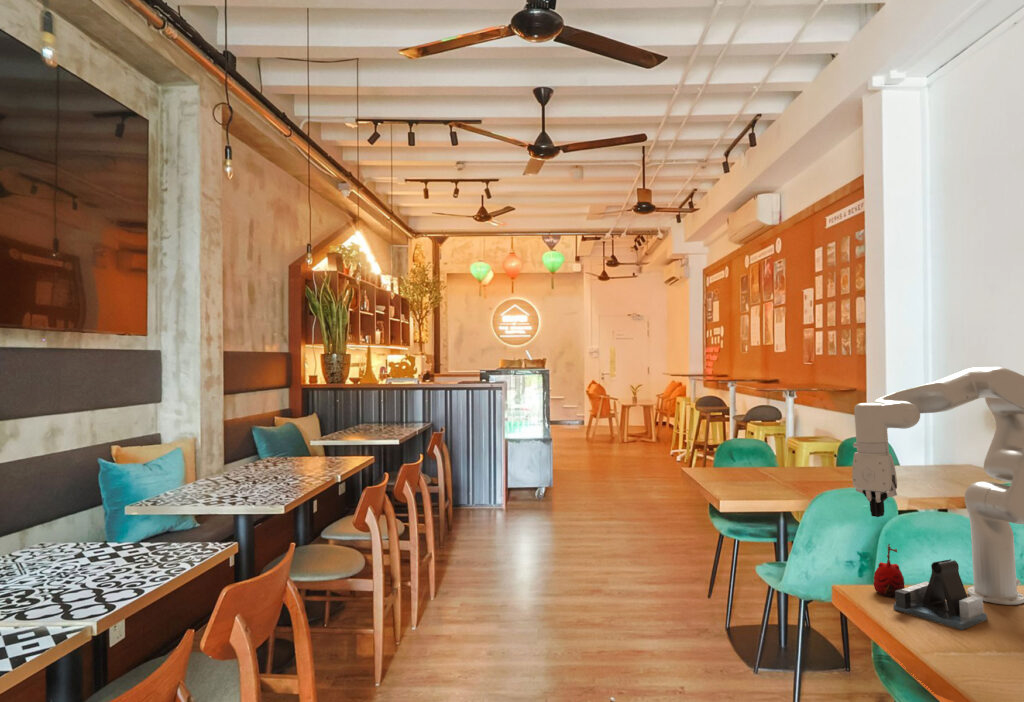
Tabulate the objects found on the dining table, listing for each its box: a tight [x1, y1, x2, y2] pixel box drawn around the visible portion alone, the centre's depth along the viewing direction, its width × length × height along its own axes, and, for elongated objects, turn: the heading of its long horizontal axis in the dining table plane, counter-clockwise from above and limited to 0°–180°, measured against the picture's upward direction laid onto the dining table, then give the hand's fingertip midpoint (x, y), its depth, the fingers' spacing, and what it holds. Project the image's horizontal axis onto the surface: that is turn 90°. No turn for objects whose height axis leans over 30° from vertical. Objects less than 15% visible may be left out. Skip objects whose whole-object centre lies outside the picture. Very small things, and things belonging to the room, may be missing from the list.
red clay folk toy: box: [873, 543, 906, 598], centre depth 181 cm, size 8×7×15 cm
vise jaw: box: [894, 581, 929, 609], centre depth 169 cm, size 14×2×4 cm, turn 119°
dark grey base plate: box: [893, 595, 988, 631], centre depth 165 cm, size 12×16×6 cm
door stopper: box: [923, 559, 969, 615], centre depth 166 cm, size 9×6×12 cm, turn 19°
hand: (877, 515), depth 173 cm, fingers closed
